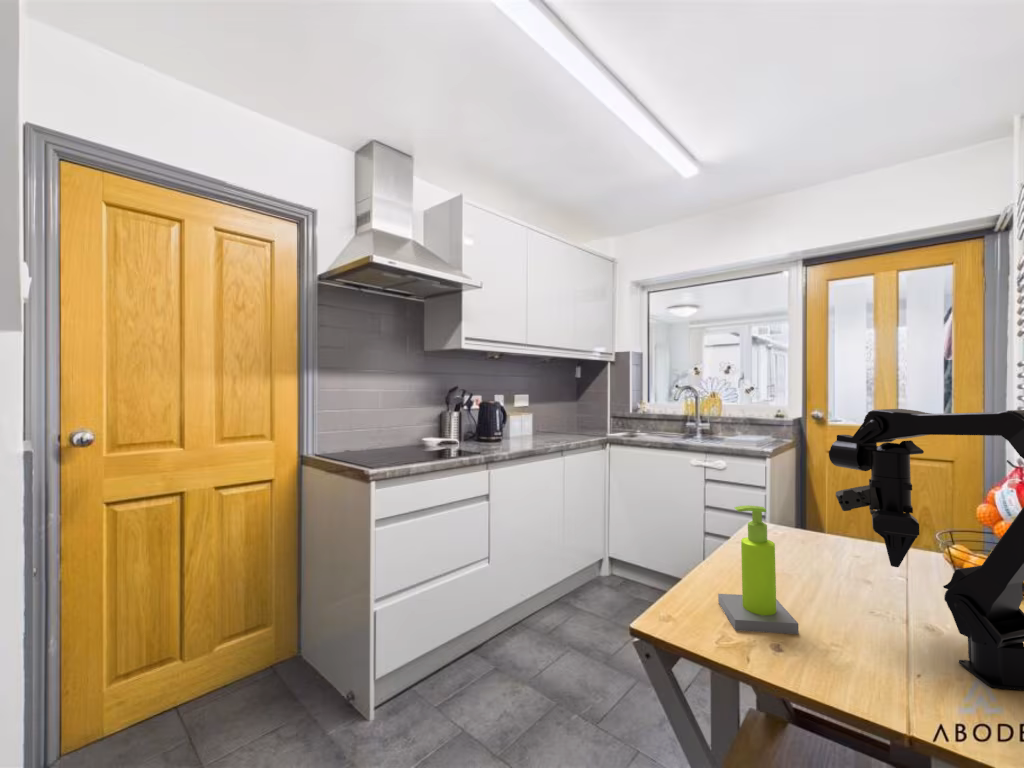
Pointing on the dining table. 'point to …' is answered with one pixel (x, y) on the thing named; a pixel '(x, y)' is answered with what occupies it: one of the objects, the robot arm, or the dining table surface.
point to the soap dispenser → (758, 565)
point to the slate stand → (756, 617)
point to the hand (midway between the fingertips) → (892, 558)
